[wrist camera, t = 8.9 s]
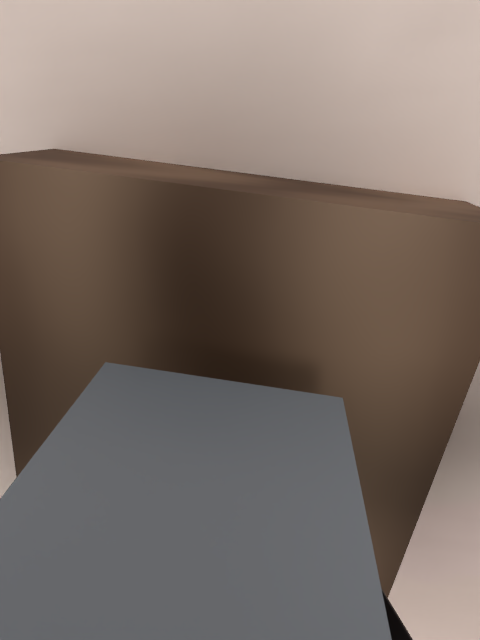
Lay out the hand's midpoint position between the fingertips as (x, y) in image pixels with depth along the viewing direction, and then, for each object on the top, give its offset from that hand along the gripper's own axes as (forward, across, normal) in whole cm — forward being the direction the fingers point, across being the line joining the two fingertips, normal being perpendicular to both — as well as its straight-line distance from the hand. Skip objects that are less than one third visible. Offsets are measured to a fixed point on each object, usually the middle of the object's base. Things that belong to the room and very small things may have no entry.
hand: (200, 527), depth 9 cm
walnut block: (+7, 0, 0) cm, 7 cm away
